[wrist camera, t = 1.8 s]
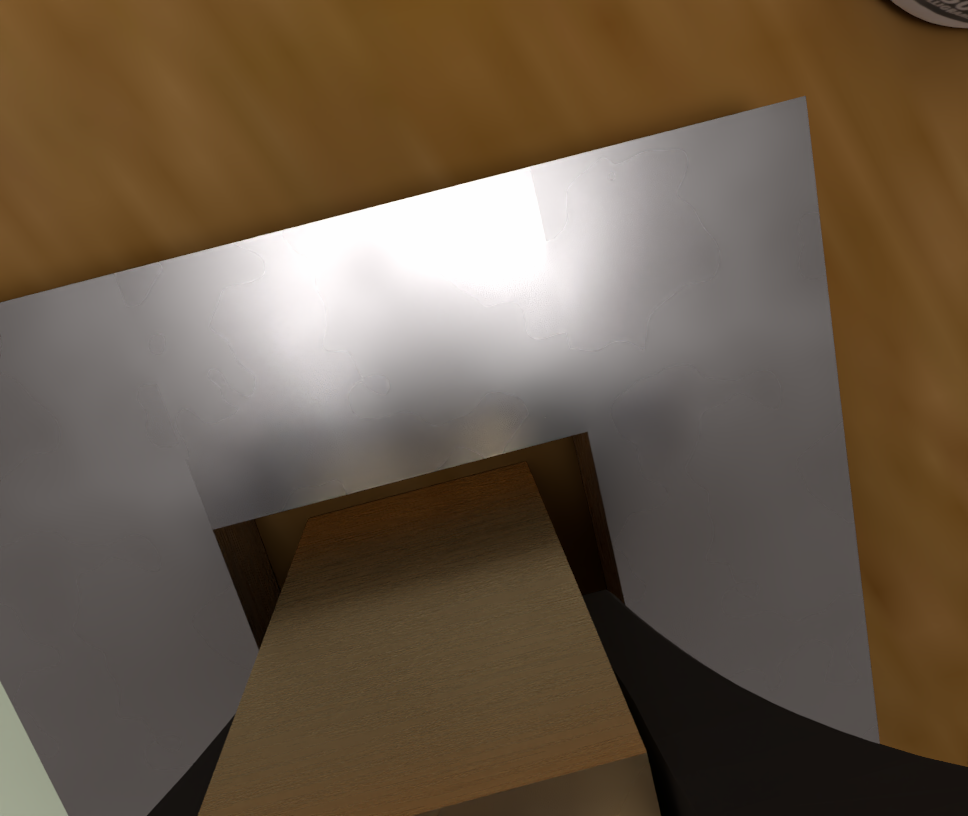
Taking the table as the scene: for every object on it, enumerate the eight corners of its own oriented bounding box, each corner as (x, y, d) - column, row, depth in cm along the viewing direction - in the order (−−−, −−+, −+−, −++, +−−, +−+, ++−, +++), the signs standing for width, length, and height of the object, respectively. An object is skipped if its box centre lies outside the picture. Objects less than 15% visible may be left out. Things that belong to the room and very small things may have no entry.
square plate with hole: (839, 784, 17) (893, 857, 15) (213, 952, 17) (186, 1048, 15) (748, 113, 13) (805, 96, 11) (-80, 325, 13) (-169, 345, 11)
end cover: (572, 650, 15) (744, 1152, 7) (371, 703, 15) (312, 1272, 7) (526, 461, 14) (669, 804, 6) (308, 518, 14) (150, 943, 6)
